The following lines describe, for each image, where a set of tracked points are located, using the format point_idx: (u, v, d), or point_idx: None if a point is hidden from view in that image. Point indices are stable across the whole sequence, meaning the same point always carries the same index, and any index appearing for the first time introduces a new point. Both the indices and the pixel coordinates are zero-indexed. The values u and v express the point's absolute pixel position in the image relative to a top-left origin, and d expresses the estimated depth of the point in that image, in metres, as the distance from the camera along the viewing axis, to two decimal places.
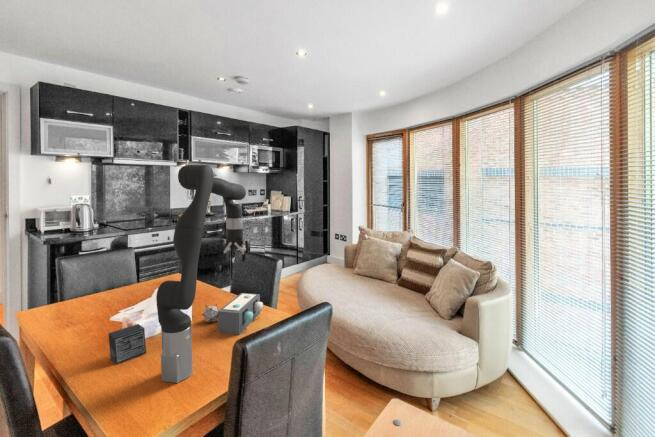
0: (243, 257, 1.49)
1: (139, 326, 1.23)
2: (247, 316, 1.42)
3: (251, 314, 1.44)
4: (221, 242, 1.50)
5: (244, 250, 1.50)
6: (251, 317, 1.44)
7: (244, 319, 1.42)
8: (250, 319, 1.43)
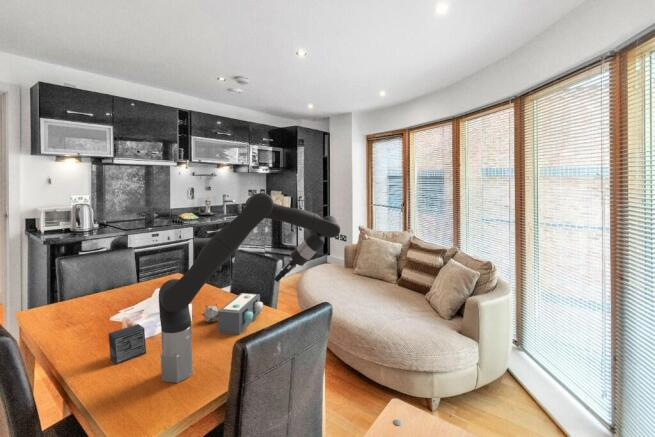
0: (277, 275, 1.35)
1: (139, 326, 1.24)
2: (247, 316, 1.42)
3: (251, 314, 1.44)
4: None
5: None
6: (251, 317, 1.44)
7: (244, 319, 1.42)
8: (250, 319, 1.43)
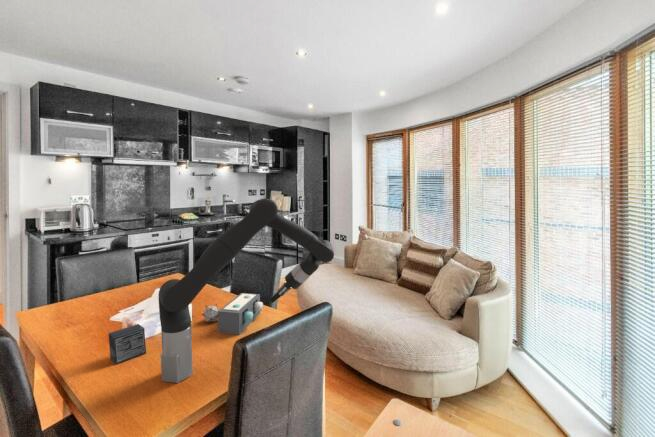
0: None
1: (139, 326, 1.24)
2: (247, 316, 1.42)
3: (251, 314, 1.44)
4: None
5: None
6: (251, 317, 1.44)
7: (244, 319, 1.42)
8: (250, 319, 1.43)
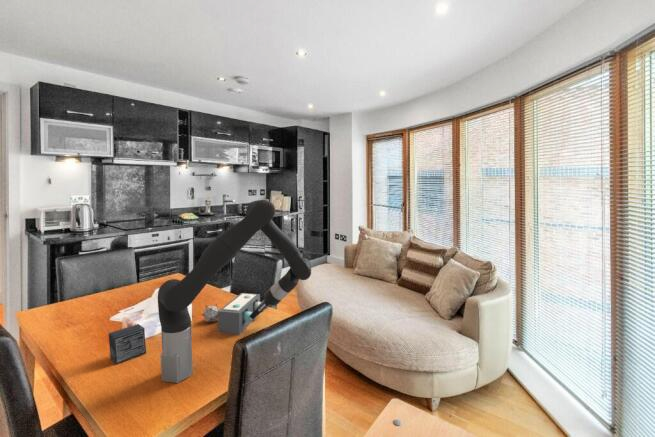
0: (252, 313, 1.43)
1: (139, 326, 1.24)
2: (246, 316, 1.42)
3: (250, 314, 1.44)
4: None
5: None
6: (250, 317, 1.44)
7: (243, 319, 1.42)
8: (249, 319, 1.43)
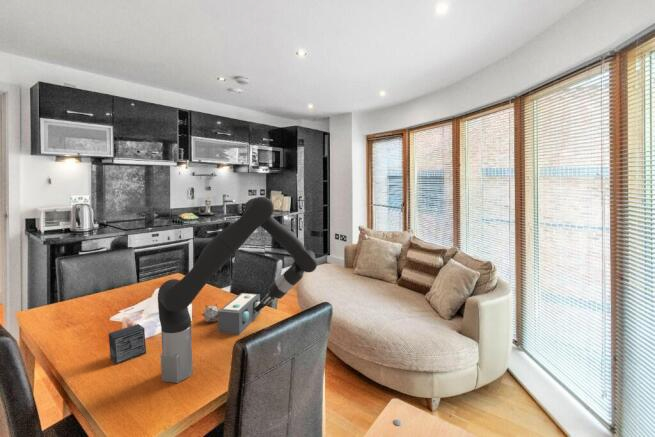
0: (257, 306, 1.42)
1: (139, 326, 1.23)
2: (243, 316, 1.42)
3: (247, 314, 1.44)
4: None
5: None
6: (247, 317, 1.44)
7: None
8: (246, 319, 1.43)
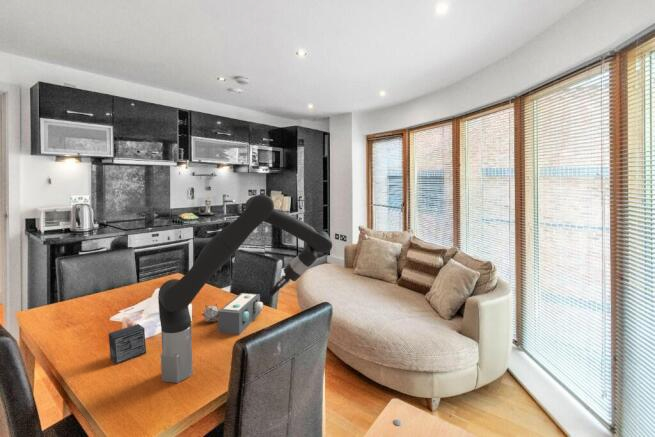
0: (271, 290, 1.40)
1: (139, 326, 1.23)
2: (243, 316, 1.42)
3: (247, 314, 1.44)
4: None
5: None
6: (247, 317, 1.44)
7: None
8: (246, 319, 1.43)
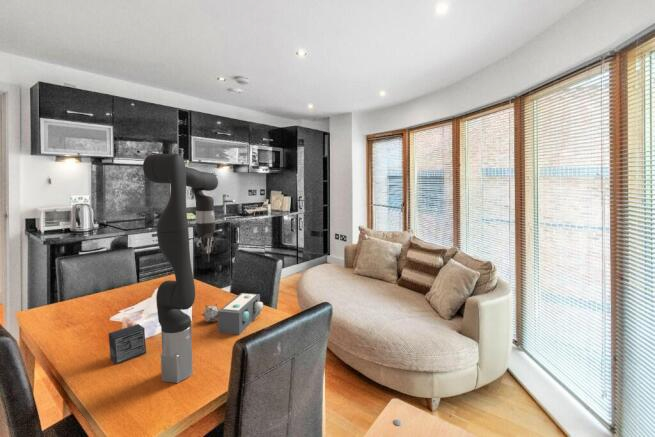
0: None
1: (139, 326, 1.24)
2: (243, 316, 1.42)
3: (247, 314, 1.44)
4: None
5: (206, 250, 1.33)
6: (247, 317, 1.44)
7: None
8: (246, 319, 1.43)
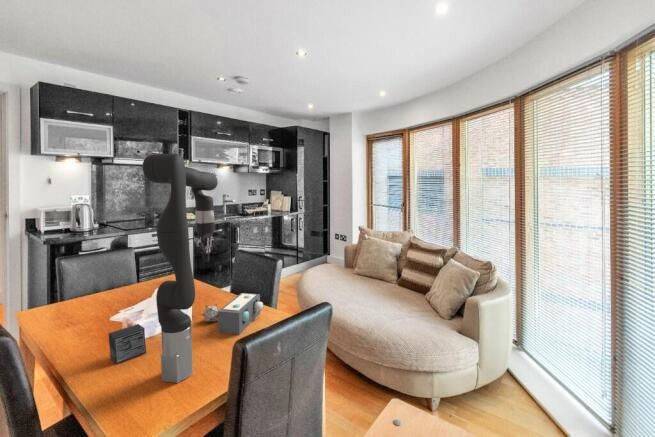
0: (203, 256, 1.34)
1: (139, 326, 1.24)
2: (243, 316, 1.42)
3: (247, 314, 1.44)
4: None
5: (206, 250, 1.33)
6: (247, 317, 1.44)
7: None
8: (246, 319, 1.43)
